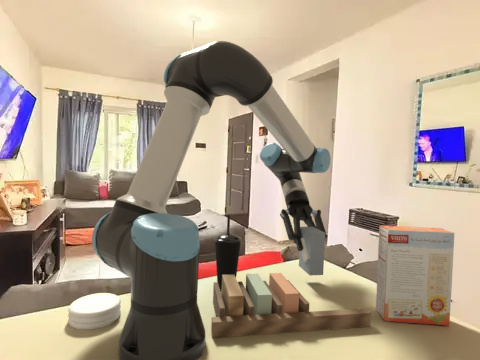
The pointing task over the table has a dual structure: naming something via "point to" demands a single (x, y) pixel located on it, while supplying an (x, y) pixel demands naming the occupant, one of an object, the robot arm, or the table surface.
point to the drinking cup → (227, 253)
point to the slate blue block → (313, 250)
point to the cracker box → (414, 274)
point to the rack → (281, 317)
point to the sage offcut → (258, 294)
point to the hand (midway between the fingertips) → (314, 260)
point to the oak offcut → (232, 296)
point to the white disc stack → (94, 311)
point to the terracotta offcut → (284, 292)
